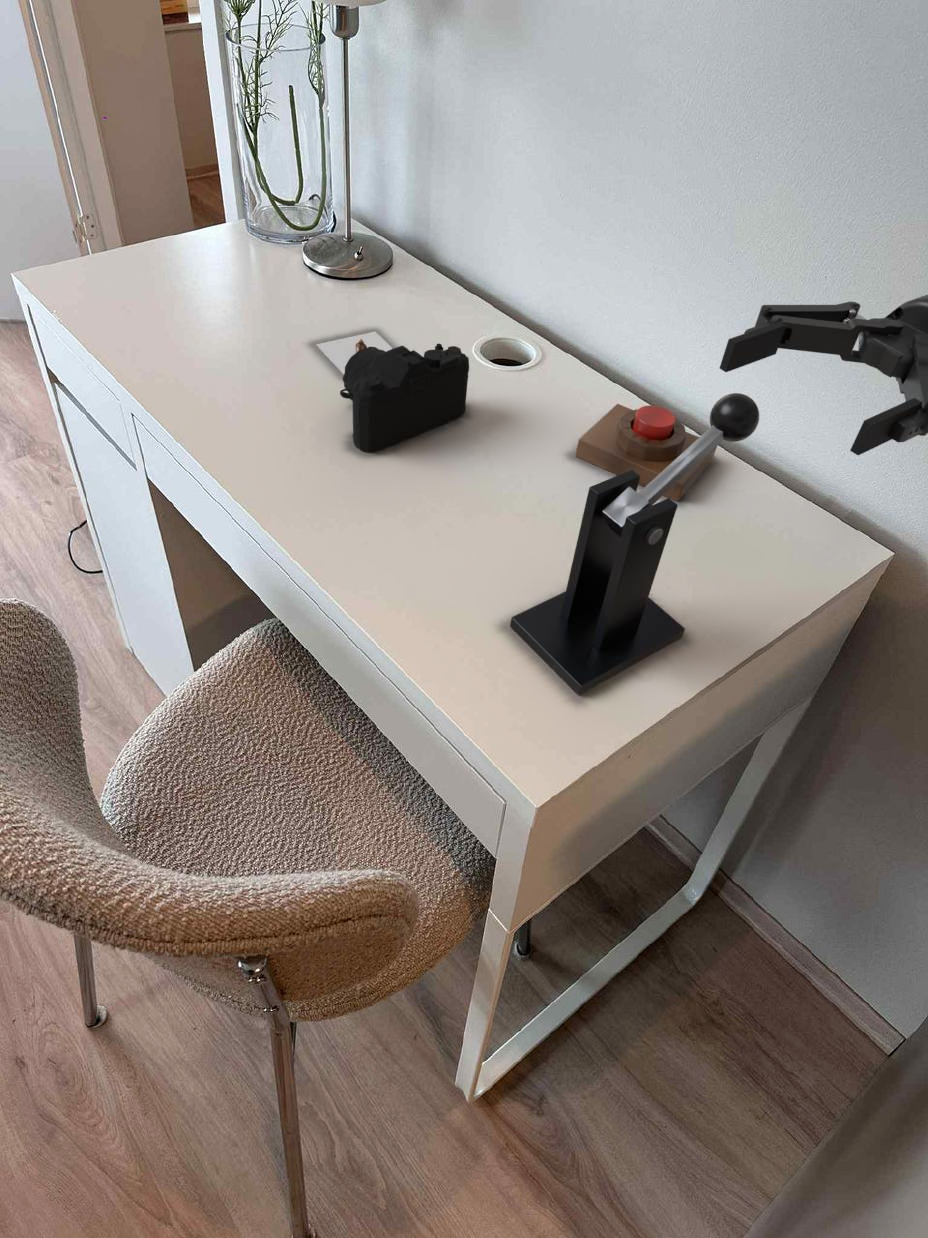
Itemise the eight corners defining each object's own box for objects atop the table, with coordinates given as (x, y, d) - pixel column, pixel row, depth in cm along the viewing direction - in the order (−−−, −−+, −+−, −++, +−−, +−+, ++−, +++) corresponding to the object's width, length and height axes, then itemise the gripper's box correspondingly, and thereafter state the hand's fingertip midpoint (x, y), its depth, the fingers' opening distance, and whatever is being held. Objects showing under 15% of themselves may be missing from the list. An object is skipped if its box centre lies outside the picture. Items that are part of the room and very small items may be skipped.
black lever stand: (611, 576, 81) (648, 441, 71) (682, 638, 76) (733, 503, 66) (509, 626, 76) (532, 488, 65) (578, 696, 71) (615, 559, 60)
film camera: (422, 376, 103) (426, 302, 96) (476, 416, 98) (483, 341, 91) (310, 416, 95) (306, 339, 89) (363, 461, 90) (362, 383, 84)
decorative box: (375, 331, 109) (375, 317, 108) (407, 362, 105) (407, 347, 103) (315, 344, 106) (315, 329, 104) (345, 377, 101) (345, 362, 100)
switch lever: (735, 404, 70) (732, 375, 67) (770, 427, 68) (768, 398, 65) (603, 525, 69) (593, 501, 66) (635, 552, 67) (626, 528, 64)
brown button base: (711, 461, 95) (722, 429, 92) (677, 501, 90) (688, 469, 87) (613, 420, 99) (620, 388, 97) (574, 456, 94) (581, 424, 91)
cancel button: (677, 429, 93) (681, 414, 91) (661, 446, 90) (665, 431, 89) (642, 414, 94) (646, 400, 93) (626, 431, 92) (629, 416, 90)
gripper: (1047, 438, 76) (903, 518, 66) (816, 313, 89) (668, 364, 80) (1098, 359, 71) (950, 434, 61) (845, 238, 84) (690, 284, 74)
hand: (790, 395), depth 70 cm, fingers open, 13 cm apart
